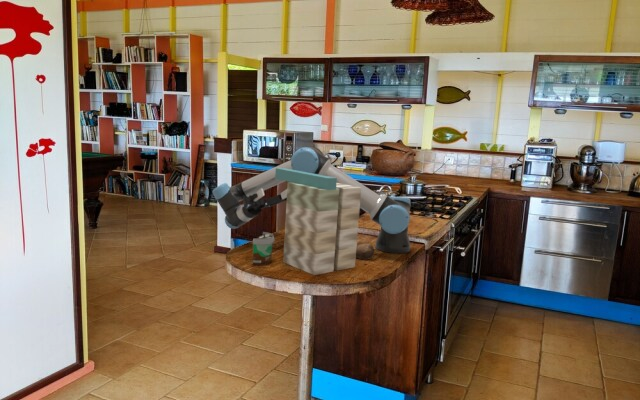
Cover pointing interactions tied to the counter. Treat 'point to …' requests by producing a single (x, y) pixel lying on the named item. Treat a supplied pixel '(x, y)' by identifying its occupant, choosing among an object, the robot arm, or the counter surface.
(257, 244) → the food container
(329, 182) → the beam
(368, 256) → the mushroom
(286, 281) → the counter surface
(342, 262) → the block stand
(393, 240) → the robot arm
